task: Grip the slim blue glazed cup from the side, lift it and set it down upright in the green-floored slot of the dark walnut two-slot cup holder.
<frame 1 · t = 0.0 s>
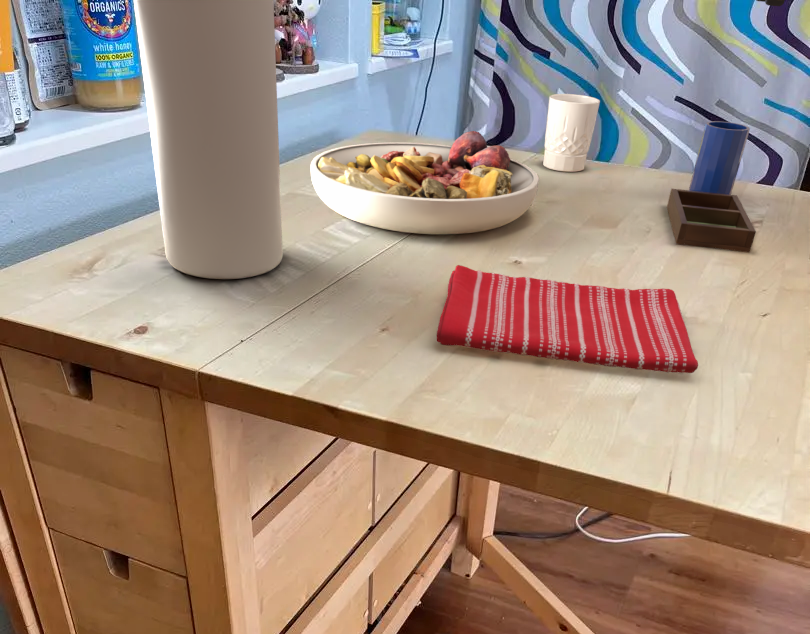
hand: (767, 3, 105), 25 cm above the table, tool pointing down, fingers open, 8 cm apart
cylinder vase: (225, 263, 88), on the table
cup: (707, 199, 121), on the table
dish towel: (560, 331, 79), on the table
holder: (705, 228, 109), on the table
white cup: (563, 168, 132), on the table
bowl: (422, 208, 109), on the table
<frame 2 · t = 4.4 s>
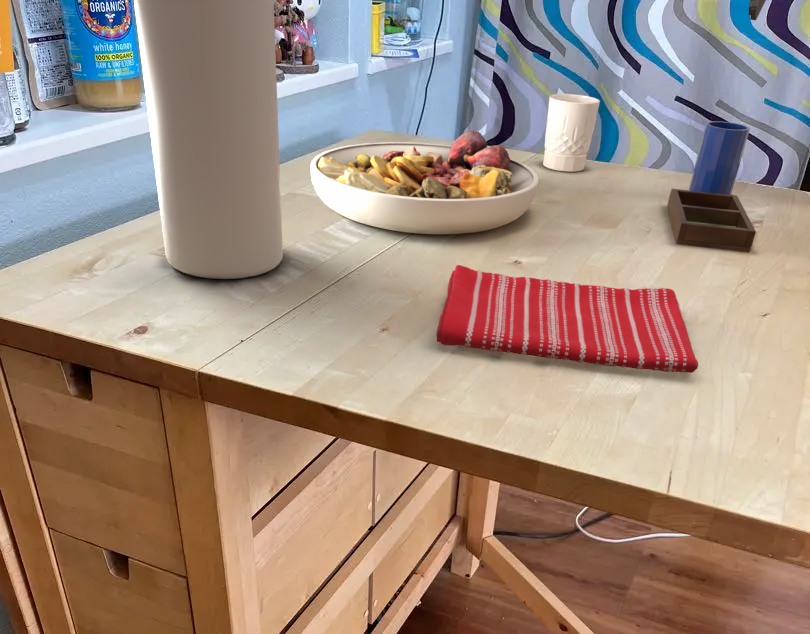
hand: (784, 19, 109), 23 cm above the table, tool tilted 45°, fingers open, 8 cm apart
nothing on the table moved.
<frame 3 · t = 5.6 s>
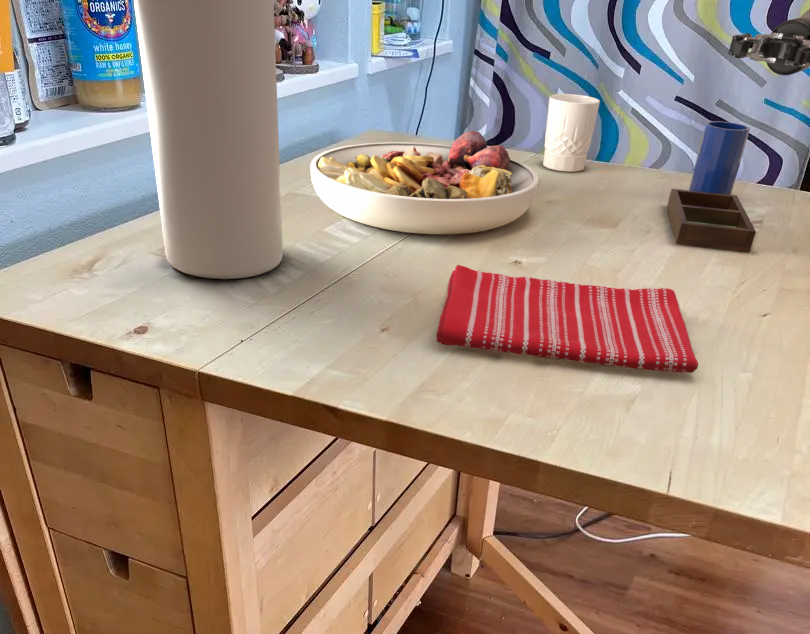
hand: (768, 53, 117), 18 cm above the table, tool horizontal, fingers open, 8 cm apart
nothing on the table moved.
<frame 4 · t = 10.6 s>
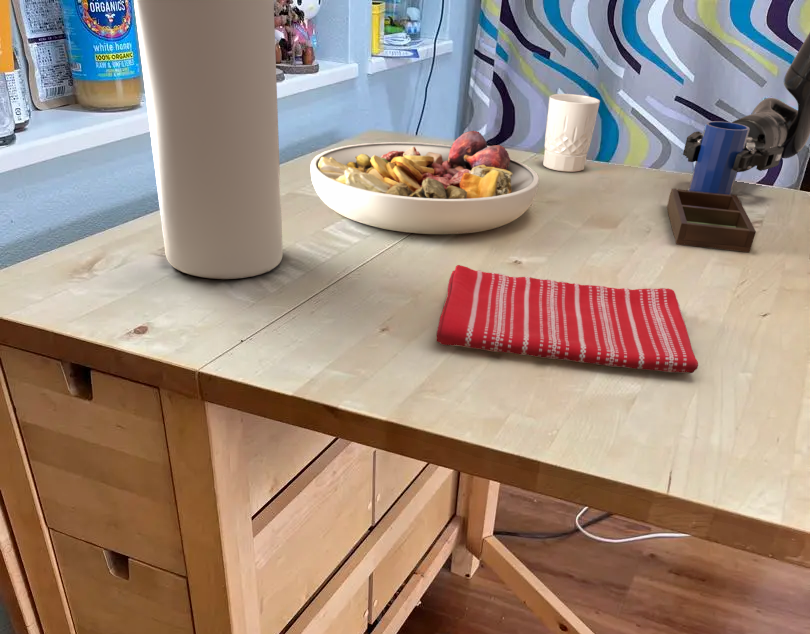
hand: (714, 158, 116), 6 cm above the table, tool horizontal, fingers closed on cup, 6 cm apart
cup: (707, 199, 121), on the table, touching gripper
everything else where it was.
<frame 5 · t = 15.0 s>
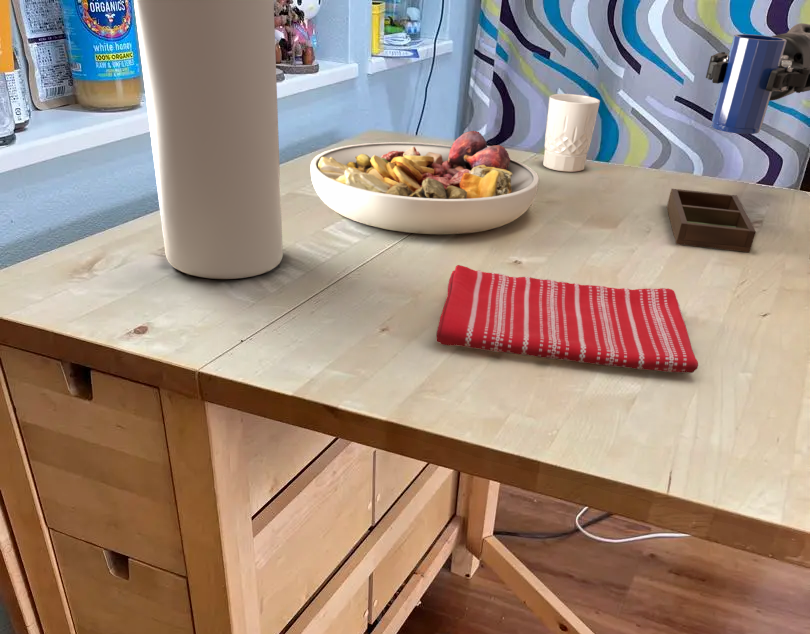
hand: (744, 77, 98), 18 cm above the table, tool horizontal, fingers closed on cup, 6 cm apart
cup: (735, 129, 103), point 12 cm above the table, touching gripper
everything else where it was.
when the fingers open (7 cm above the table, at t = 19.4 s): cup stays where it is, resting on holder.
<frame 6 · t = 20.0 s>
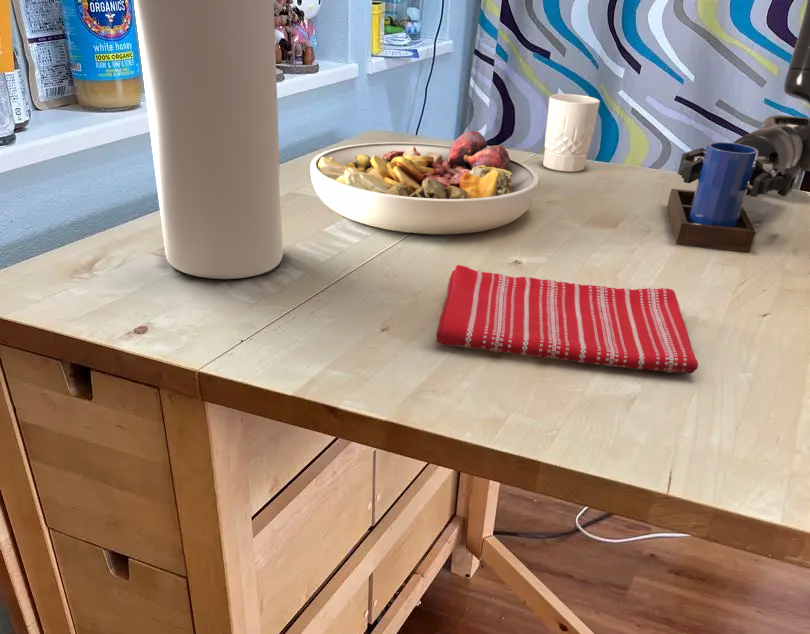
hand: (720, 181, 100), 7 cm above the table, tool horizontal, fingers open, 8 cm apart
cup: (709, 231, 105), point 1 cm above the table, touching holder
everything else where it was.
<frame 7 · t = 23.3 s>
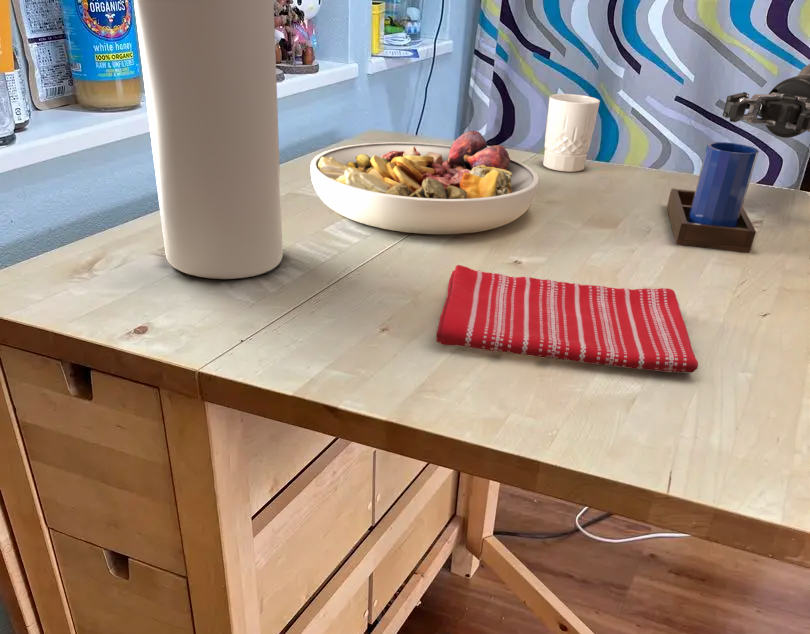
hand: (766, 118, 105), 13 cm above the table, tool horizontal, fingers open, 8 cm apart
nothing on the table moved.
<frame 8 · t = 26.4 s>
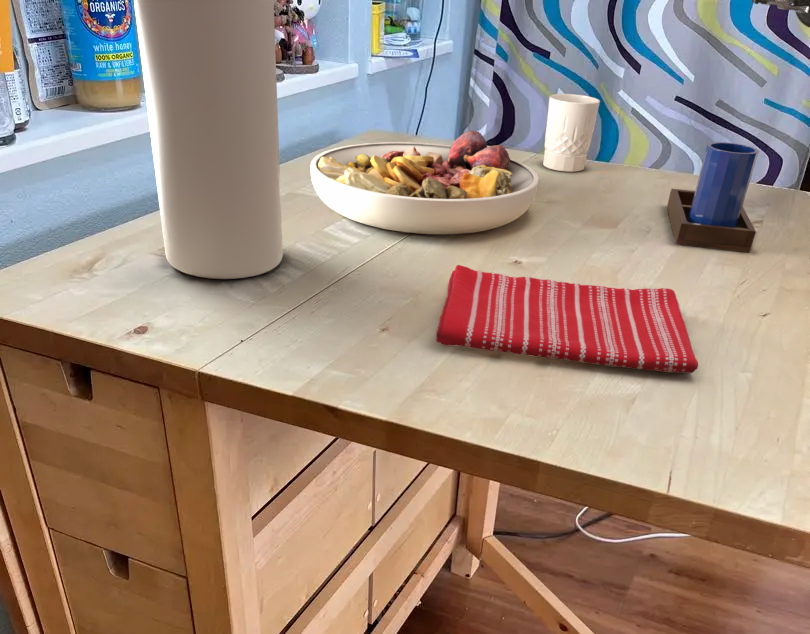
nothing on the table moved.
at the end: cup 1.0 cm from the target spot in the holder, point 0.8 cm above the holder's base; cup tilted 0°; the gripper is holding nothing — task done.
